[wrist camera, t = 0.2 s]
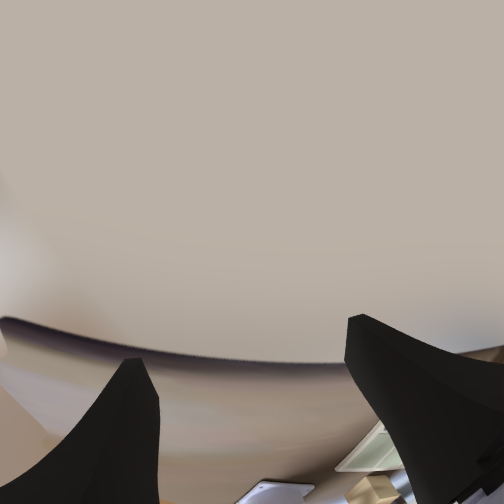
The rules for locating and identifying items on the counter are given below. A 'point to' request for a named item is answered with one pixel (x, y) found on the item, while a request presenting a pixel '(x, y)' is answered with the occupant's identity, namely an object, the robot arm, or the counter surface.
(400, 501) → the coffee can
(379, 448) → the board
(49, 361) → the counter surface
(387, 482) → the ash block
